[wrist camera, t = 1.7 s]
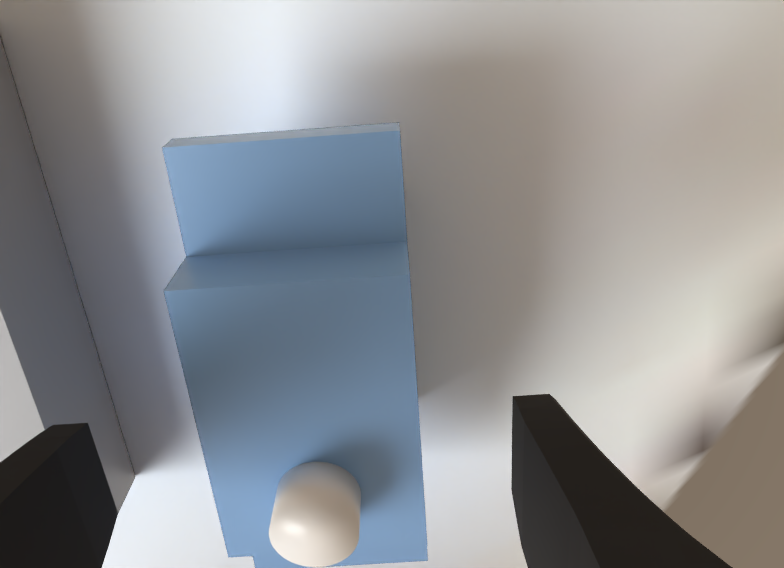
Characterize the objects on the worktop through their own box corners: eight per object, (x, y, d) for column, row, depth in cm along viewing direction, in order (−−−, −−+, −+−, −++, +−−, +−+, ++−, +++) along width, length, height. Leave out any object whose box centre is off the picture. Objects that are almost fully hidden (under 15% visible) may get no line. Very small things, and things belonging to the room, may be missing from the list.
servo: (396, 91, 14) (403, 171, 9) (420, 456, 19) (435, 657, 13) (211, 104, 15) (110, 193, 9) (277, 465, 19) (235, 669, 14)
